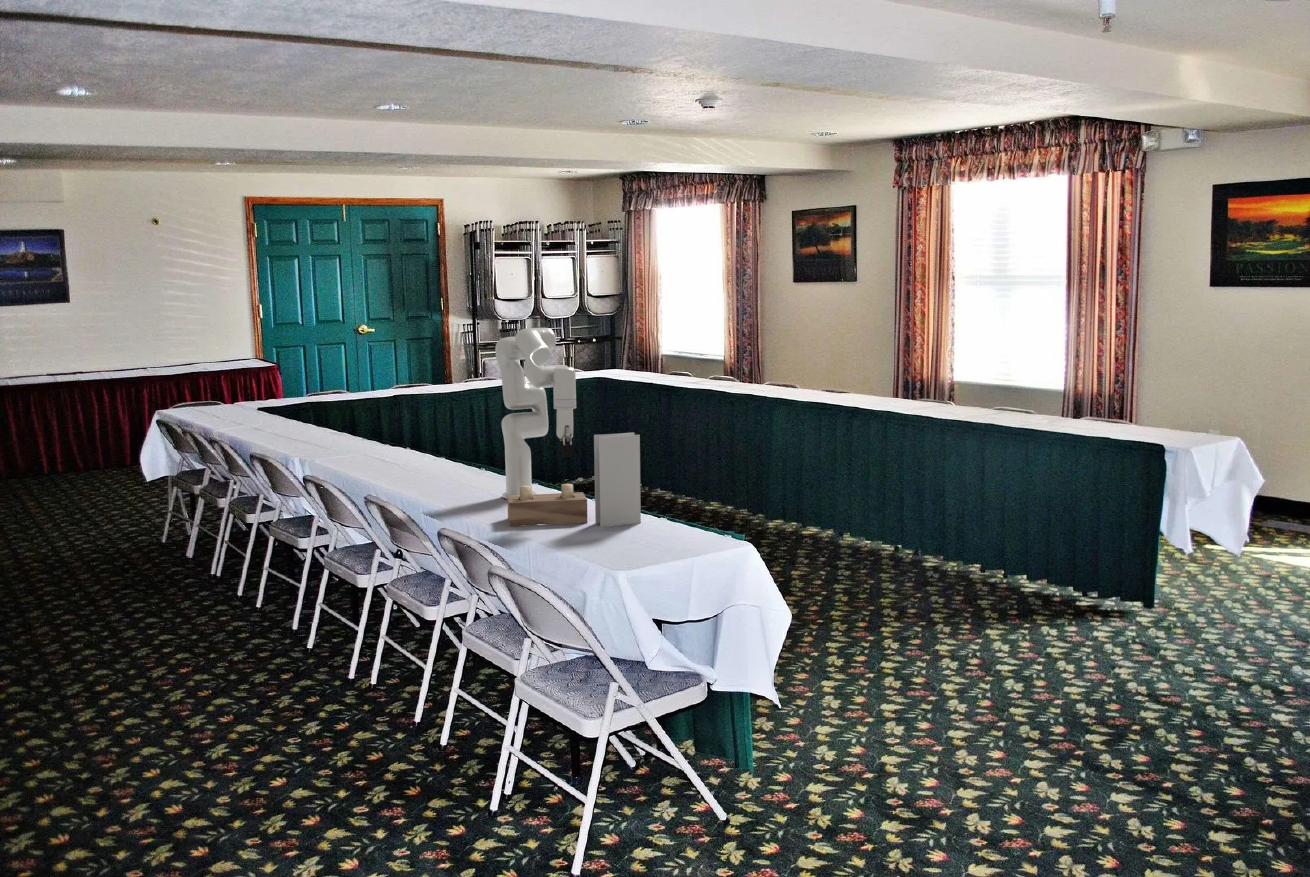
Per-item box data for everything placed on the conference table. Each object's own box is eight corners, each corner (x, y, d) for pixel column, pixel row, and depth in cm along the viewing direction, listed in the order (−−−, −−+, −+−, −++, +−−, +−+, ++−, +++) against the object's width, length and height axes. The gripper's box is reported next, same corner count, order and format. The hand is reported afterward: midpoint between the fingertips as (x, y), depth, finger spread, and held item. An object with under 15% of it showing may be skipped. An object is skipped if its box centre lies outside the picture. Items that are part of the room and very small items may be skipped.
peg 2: (561, 505, 376) (560, 484, 374) (572, 505, 376) (572, 483, 375) (562, 508, 372) (561, 486, 371) (574, 507, 372) (573, 485, 371)
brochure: (635, 519, 374) (634, 432, 369) (640, 523, 369) (639, 434, 364) (595, 523, 369) (594, 435, 364) (600, 526, 364) (599, 437, 359)
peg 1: (520, 507, 373) (519, 485, 372) (531, 507, 374) (531, 485, 373) (520, 510, 369) (520, 488, 368) (532, 509, 370) (532, 487, 369)
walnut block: (508, 518, 377) (507, 495, 376) (583, 514, 382) (582, 492, 380) (509, 526, 365) (509, 503, 364) (587, 522, 370) (587, 499, 369)
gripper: (551, 401, 376) (552, 451, 379) (556, 407, 360) (557, 459, 362) (573, 400, 378) (574, 450, 380) (579, 406, 361) (580, 458, 363)
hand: (566, 454), depth 371 cm, fingers open, 8 cm apart
